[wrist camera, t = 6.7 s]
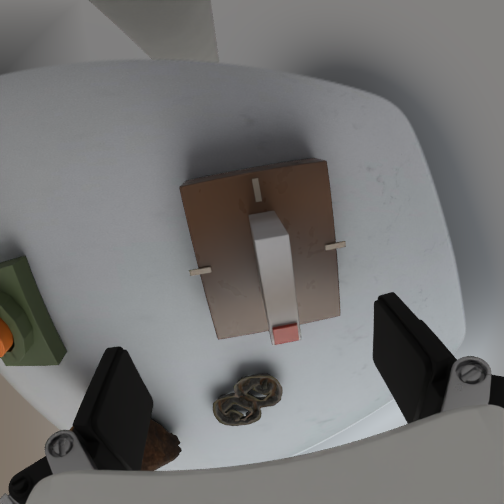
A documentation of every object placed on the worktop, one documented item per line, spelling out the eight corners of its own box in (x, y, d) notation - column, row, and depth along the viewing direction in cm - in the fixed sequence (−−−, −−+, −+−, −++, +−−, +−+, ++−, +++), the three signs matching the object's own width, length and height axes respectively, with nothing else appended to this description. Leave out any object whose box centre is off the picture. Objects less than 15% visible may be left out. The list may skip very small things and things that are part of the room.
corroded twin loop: (294, 381, 28) (295, 388, 27) (243, 425, 30) (243, 433, 29) (250, 359, 26) (251, 366, 25) (201, 408, 28) (201, 415, 27)
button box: (-25, 269, 22) (-48, 286, 18) (25, 255, 22) (0, 273, 18) (14, 354, 25) (-2, 376, 22) (67, 351, 25) (51, 377, 22)
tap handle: (248, 214, 19) (254, 241, 14) (274, 210, 19) (289, 235, 14) (263, 301, 21) (272, 348, 16) (286, 297, 21) (302, 342, 16)
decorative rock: (75, 398, 28) (42, 473, 17) (97, 372, 26) (61, 458, 16) (162, 450, 31) (151, 526, 21) (192, 432, 30) (186, 516, 20)
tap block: (177, 182, 21) (168, 189, 18) (322, 156, 21) (336, 159, 18) (211, 319, 25) (209, 342, 22) (336, 295, 25) (349, 315, 22)
